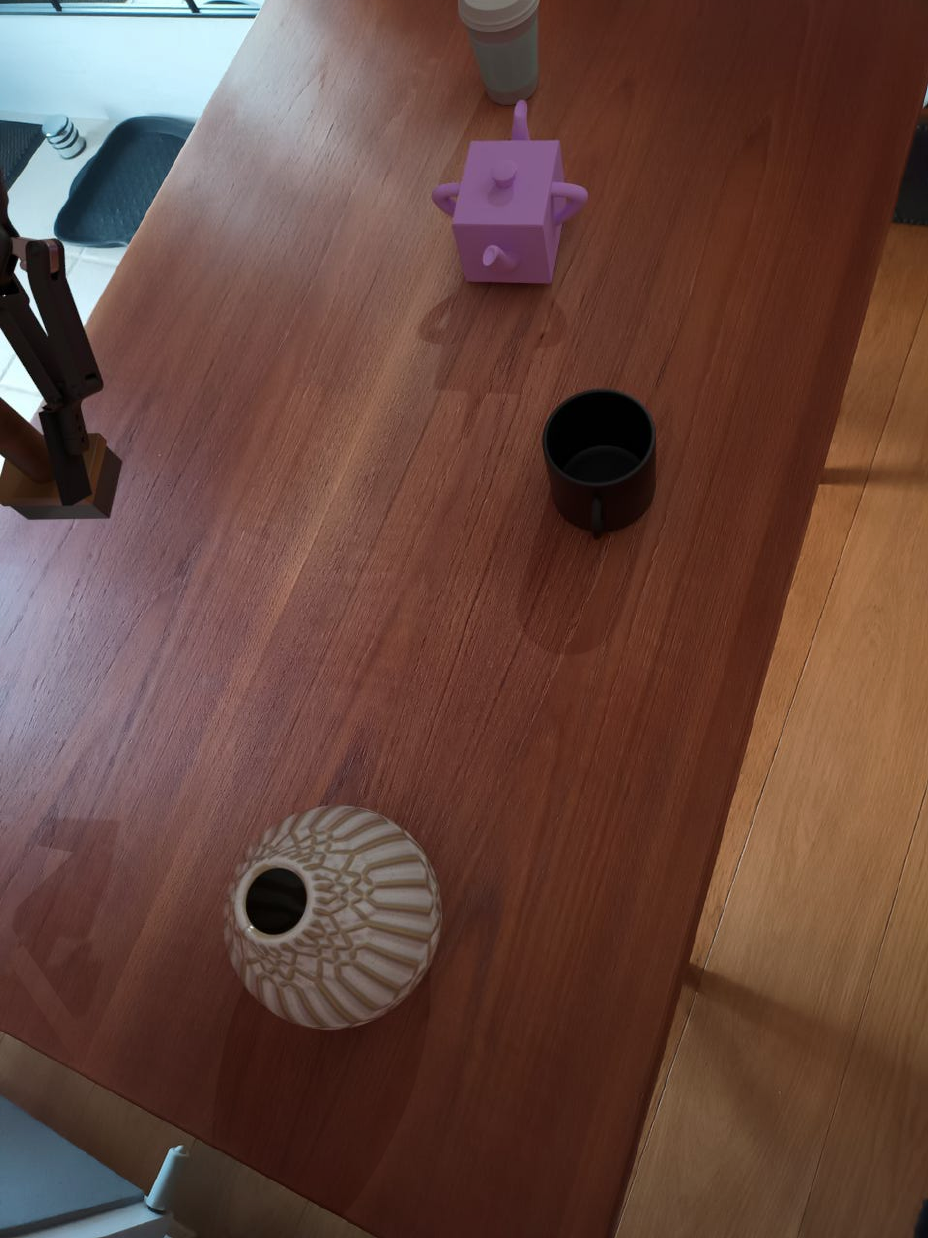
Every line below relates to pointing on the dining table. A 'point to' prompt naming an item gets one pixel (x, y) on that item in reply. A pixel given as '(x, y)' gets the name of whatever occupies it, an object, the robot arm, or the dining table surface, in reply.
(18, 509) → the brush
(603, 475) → the mug
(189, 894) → the dining table surface
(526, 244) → the teapot
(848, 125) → the dining table surface
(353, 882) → the vase
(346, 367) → the dining table surface
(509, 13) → the coffee cup
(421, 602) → the dining table surface
